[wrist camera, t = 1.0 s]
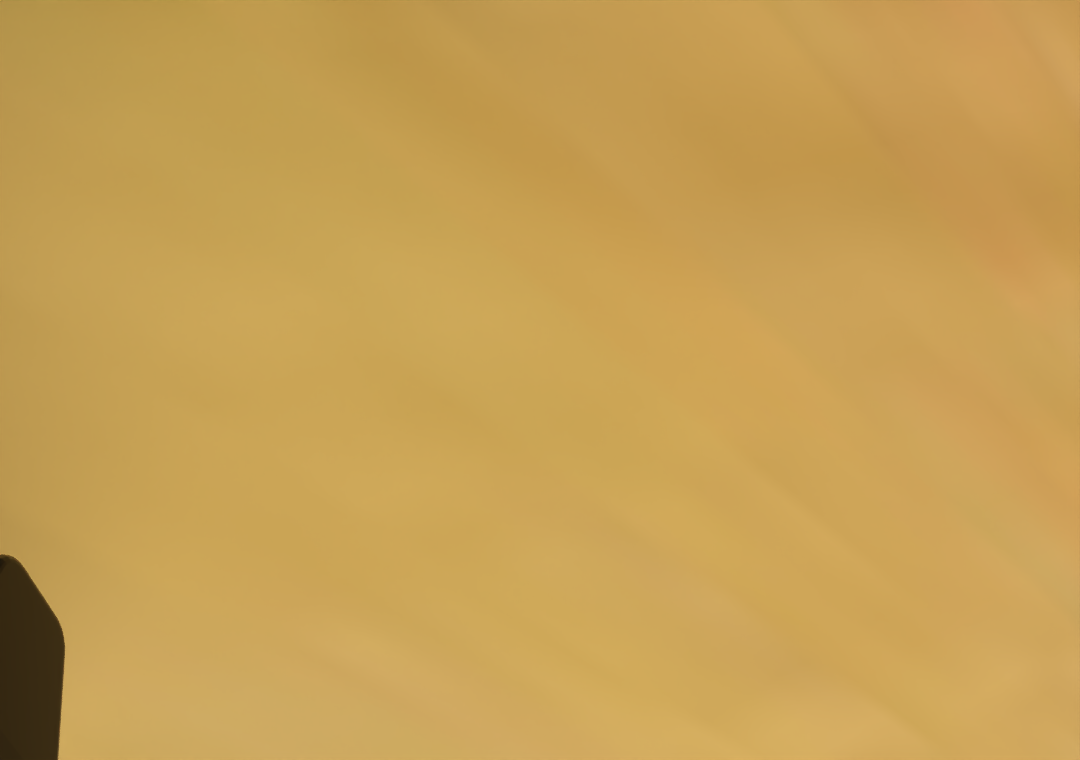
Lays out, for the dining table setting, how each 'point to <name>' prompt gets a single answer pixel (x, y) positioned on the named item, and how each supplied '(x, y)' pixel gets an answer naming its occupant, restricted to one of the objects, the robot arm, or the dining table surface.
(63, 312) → the dining table surface
